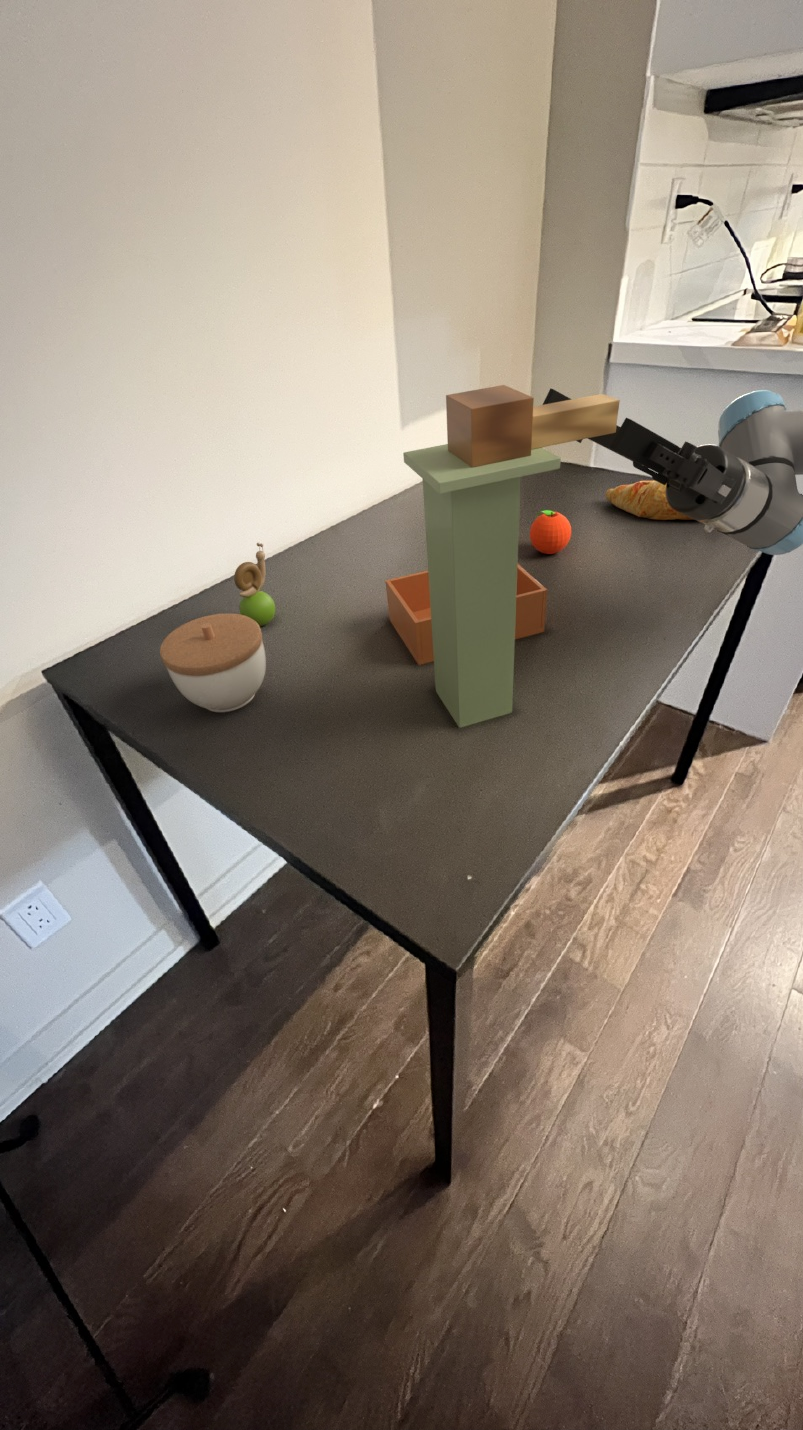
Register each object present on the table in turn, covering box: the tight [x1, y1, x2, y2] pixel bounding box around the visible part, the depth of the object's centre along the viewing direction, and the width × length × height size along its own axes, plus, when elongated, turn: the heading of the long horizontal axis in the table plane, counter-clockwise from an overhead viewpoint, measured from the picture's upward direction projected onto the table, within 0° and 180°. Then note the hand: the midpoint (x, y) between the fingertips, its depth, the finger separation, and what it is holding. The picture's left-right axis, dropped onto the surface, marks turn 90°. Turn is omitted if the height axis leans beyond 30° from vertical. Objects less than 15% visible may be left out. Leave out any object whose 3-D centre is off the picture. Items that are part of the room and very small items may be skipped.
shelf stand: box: [403, 443, 562, 728], centre depth 69 cm, size 12×10×30 cm
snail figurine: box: [233, 542, 276, 627], centre depth 95 cm, size 5×6×12 cm
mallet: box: [445, 384, 620, 468], centre depth 59 cm, size 16×6×5 cm, turn 109°
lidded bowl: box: [159, 613, 267, 713], centre depth 80 cm, size 13×13×11 cm
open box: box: [385, 563, 548, 666], centre depth 90 cm, size 19×13×7 cm
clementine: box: [529, 509, 572, 555], centre depth 107 cm, size 8×7×7 cm
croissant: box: [605, 480, 693, 521], centre depth 116 cm, size 21×10×8 cm, turn 53°
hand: (579, 416), depth 61 cm, fingers open, 13 cm apart
